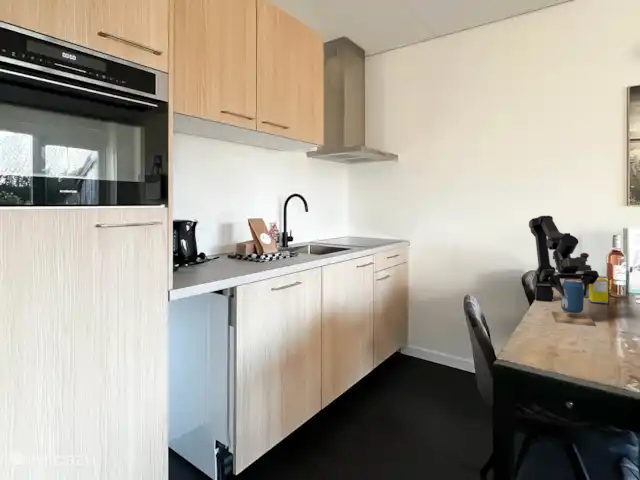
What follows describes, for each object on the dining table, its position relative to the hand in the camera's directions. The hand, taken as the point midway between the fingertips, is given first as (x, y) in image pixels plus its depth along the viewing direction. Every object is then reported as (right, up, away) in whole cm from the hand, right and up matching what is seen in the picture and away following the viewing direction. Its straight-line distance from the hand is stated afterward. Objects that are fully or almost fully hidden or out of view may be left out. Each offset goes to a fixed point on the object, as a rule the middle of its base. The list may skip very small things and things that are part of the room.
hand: (574, 295), depth 140 cm
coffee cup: (+29, -6, +38) cm, 48 cm away
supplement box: (+28, -7, +26) cm, 39 cm away
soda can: (+1, -7, +2) cm, 7 cm away
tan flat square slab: (0, -9, +2) cm, 10 cm away
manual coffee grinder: (+41, -5, +58) cm, 71 cm away
